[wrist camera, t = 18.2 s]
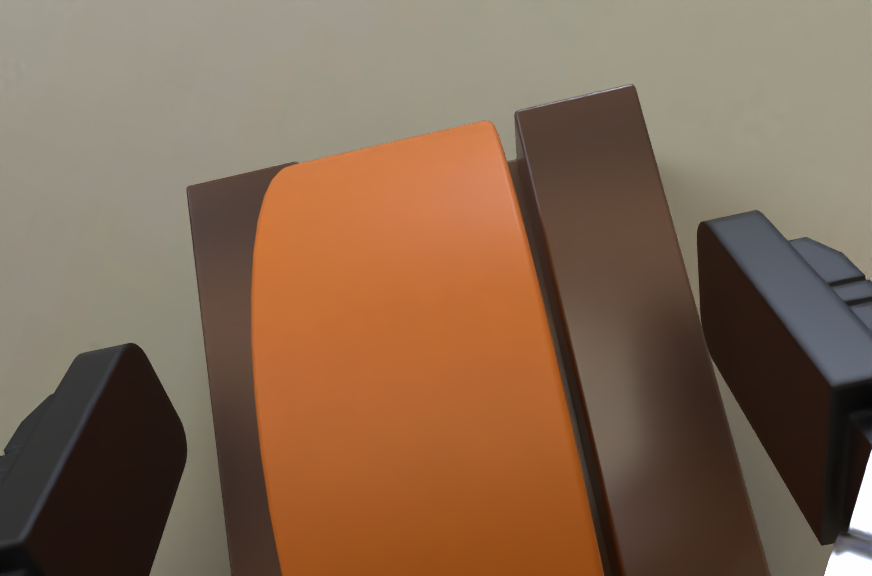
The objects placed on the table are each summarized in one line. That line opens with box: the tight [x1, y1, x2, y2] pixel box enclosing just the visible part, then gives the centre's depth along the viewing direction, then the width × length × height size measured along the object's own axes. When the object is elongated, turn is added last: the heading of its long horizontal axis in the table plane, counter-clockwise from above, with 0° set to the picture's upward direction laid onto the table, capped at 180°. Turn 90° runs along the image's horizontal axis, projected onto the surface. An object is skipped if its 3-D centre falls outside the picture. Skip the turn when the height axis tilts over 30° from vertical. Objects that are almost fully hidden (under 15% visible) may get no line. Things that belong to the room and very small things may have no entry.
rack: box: [186, 84, 771, 576], centre depth 16 cm, size 12×10×4 cm
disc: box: [251, 121, 604, 576], centre depth 12 cm, size 9×3×9 cm, turn 11°
